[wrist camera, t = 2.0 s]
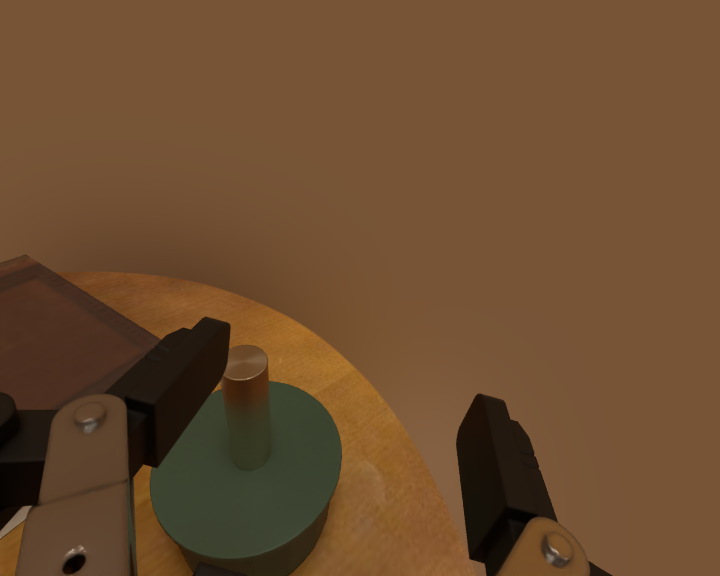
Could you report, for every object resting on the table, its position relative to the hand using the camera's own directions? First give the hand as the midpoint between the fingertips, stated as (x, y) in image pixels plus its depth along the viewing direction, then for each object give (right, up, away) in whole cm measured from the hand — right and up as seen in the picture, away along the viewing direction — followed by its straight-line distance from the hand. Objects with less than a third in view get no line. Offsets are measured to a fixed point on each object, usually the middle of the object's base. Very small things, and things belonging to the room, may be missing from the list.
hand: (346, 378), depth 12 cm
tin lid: (-7, -9, +14) cm, 18 cm away
